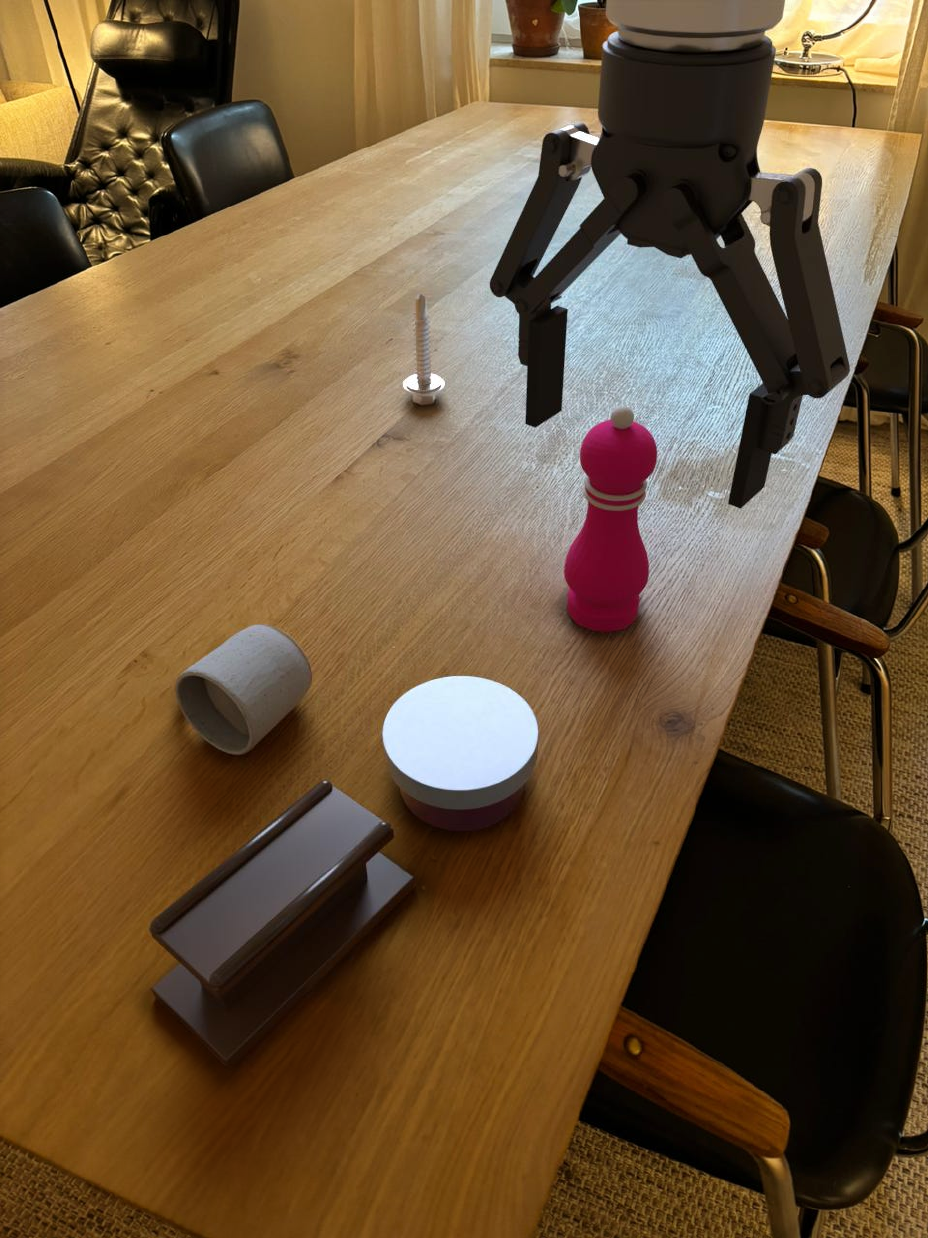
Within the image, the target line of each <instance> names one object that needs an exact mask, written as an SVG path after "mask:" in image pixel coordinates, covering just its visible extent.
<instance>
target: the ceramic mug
mask: <svg viewBox="0 0 928 1238" xmlns="http://www.w3.org/2000/svg"><path fill="white" fill-rule="evenodd" d="M312 682H313V671H312V667H311V663H310V660H309V659H308V656H307V654H306V652H305V651H304V649H303V647H301V645H300V644H299V643H298V642H297V641H296V639H294V638H293V637H292V636H291V635H290V634H289V633H287V632H286V631H285V630H283V629H281V628H279V627H277V626H274V625H271V624H267V623H256V624H253V625H250V626H247V627H246V628H244V629H242V630H240V631H238V632H237V633H235V634H234V635H232V636H231V637H230V638H228V639H227V640H226V641H225V642H223V643H221V645H219V646H218V647H216V648H215V649H214V650H212V651H211V652H210V653H207V654H206V655H205V656H203V657H202V658H200V659H198V661H197V662H195V663H193V664H192V665H190V666H189V667H188V668H187V669H185V670H184V671H183V672H181V674H180V675H178V676H177V679H176V682H175V684H174V693H175V698H176V701H177V703H178V706H179V709H180V710H181V712H182V715H183V716H184V718H185V719H186V721H187V722H188V723H189V724H190V726H191V727H192V729H194V730H195V731H196V733H197V734H198V735H199V736H200V737H201V738H202V739H203V740H204V741H206V742H208V744H210V745H211V746H213V747H214V748H216V749H217V750H219V751H221V752H224V753H226V754H229V755H234V756H241V755H245V754H247V753H250V751H251V750H252V749H254V748H255V747H256V745H258V743H259V742H260V741H261V740H262V739H264V737H266V736H267V735H268V734H269V733H270V732H271V731H272V730H273V729H274V728H275V727H276V726H277V725H278V724H279V723H280V722H281V721H282V720H283V719H284V718H285V717H286V716H287V715H288V714H290V712H291V711H292V710H293V709H294V708H295V707H296V706H298V705H299V703H301V701H302V700H303V699H304V697H306V695H307V693H308V691H309V690H310V688H311V685H312Z"/></svg>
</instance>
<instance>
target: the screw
mask: <svg viewBox="0 0 928 1238" xmlns="http://www.w3.org/2000/svg"><path fill="white" fill-rule="evenodd" d="M427 305H428V304H427V296H426V295H424V294H423V293H419V294H417V295H416V296H415V297H414V313H413V315H414V318H413V320H412V321H413V322H414V323H412V326H413V327H414V328H413V332H414V334H413V336H414V337H415V338H413V341H414V342H415V343H414V344H413V346H414V348H413V350H414V351H415V353H414V356H415V358H414V361H415V362H414V365H415V368H414V369H415V373H414V374H412V375H410V376H408V377H407V378H406V379H405V380H404V381H403V382H402V386H403V390H404V391H405V392H406V393H407V394H409V395H412V402H413V403H415V404H418V405H420V406H426V405H432V404H434V402H435V399H436V398H437V397H436V396H437V394H439V393H441V392H443V391H444V389H445V380H444V379H443V378H441V377H440V376H438V375H437V374H434V373H432V364H431V363H432V359H431V357H432V355H431V340H430V339H431V335H430V333H431V331H430V328H431V326H430V323H431V321H430V320H429V318H430V315H428V309H427Z"/></svg>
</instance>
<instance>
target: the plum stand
mask: <svg viewBox="0 0 928 1238" xmlns="http://www.w3.org/2000/svg"><path fill="white" fill-rule="evenodd" d="M524 787H525V784H524V785H523V786H522V787H521V788H519V789H518V790H517V791H516V792H515V793H513V794H512V795H510V796H509V797H507V798H505V799H503V800H501V801H499V802H497V803H494V804H491V805H489V806H485V807H481V808H475V809H465V810H455V809H445V808H439V807H435V806H432V805H428V804H425V803H423V802H421V801H419V800H417V799H415V798H413V797H411V796H410V795H408V794H407V793H406V792H404V791H403V790H402V789H401V788H400V787H399V792H400V796H401V799H402V800H403V803H404V805H405V806H406V807H407V808H408V810H409V811H410V812H411V813H412V814H413V815H414V816H415V817H416V818H417V819H419V820H420V821H422V822H424V824H425V823H426V824H427V825H429V826H432V827H434V828H437V829H441V830H445V831H449V832H450V831H451V832H472V831H478V830H482V829H486V828H488V827H491V826H494V825H495V824H497V823H499V822H501V821H502V820H504V819H506V817H507V816H509V815H510V814H511V813H512V812H513V810H514V809H515V808H517V805H518V804H519V802H520V801H521V798H522V796H523V792H524Z"/></svg>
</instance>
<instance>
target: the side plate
mask: <svg viewBox="0 0 928 1238" xmlns="http://www.w3.org/2000/svg"><path fill="white" fill-rule="evenodd" d="M381 732H382V733H381V739H382V749H383V758H384V764H385V767H386V770H387V772H388V774H389V776H390V777H391V779H392V781H393V782H394V783H395V784H396V785H397V786H398V787H399V789H400V788H401V789H402V790H403V791H404V792H406V793H407V794H408V795H410V796H411V797H413V798H415V799H417V800H419V801H421V802H423V803H425V804H428V805H432V806H435V807H439V808H445V809H455V810H465V809H475V808H481V807H485V806H489V805H491V804H494V803H497V802H499V801H501V800H503V799H505V798H507V797H509V796H510V795H512V794H513V793H515V792H516V791H517V790H518V789H519V788H521V787H522V786H523V785H524V786H525V783H526V782H528V780H529V779H530V777H531V775H532V774H533V771H534V769H535V767H536V764H537V760H538V752H539V751H538V750H539V735H540V734H539V733H540V731H539V724H538V720H537V717H536V715H535V713H534V711H533V709H532V708H531V706H530V704H528V702H527V701H526V700H525V699H524V698H523V696H521V695H520V694H519V693H517V692H516V691H515V690H513V689H512V688H510V687H508V686H507V685H504V684H502V683H500V682H498V681H495V680H492V679H488V678H484V677H478V676H470V675H452V676H443V677H439V678H434V679H431V680H428V681H424V682H423V683H420V684H417V685H416V686H414V687H413V688H411V689H409V690H408V691H406V692H405V693H404V694H402V695H401V696H400V697H398V699H397V700H396V701H395V702H394V703H393V705H391V707H390V708H389V710H388V712H387V714H386V716H385V718H384V721H383V725H382V731H381Z"/></svg>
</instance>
